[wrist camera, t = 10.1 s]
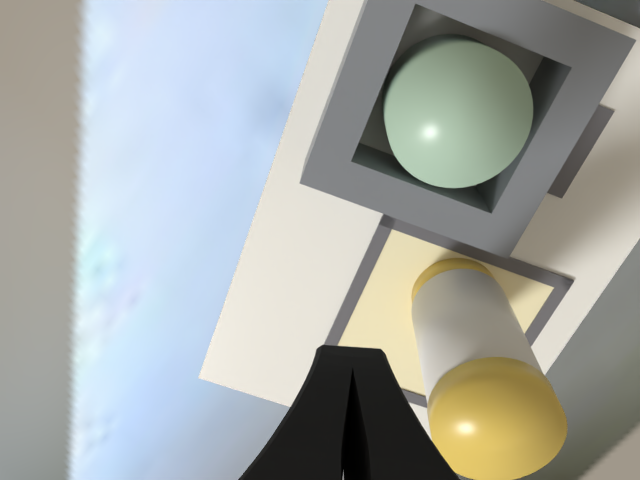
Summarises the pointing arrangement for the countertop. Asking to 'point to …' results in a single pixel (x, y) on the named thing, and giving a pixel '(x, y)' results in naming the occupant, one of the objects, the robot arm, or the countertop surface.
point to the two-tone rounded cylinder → (481, 376)
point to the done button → (456, 111)
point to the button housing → (529, 165)
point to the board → (418, 234)
